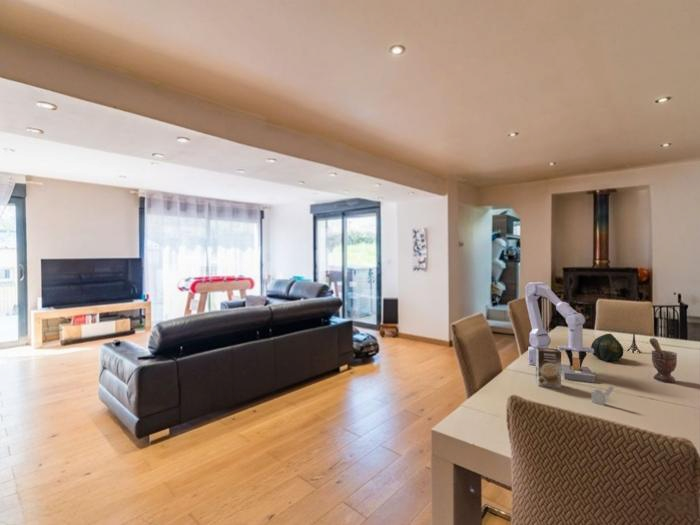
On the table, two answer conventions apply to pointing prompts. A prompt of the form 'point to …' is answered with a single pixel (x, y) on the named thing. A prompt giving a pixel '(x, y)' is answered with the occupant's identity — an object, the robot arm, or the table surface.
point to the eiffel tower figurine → (634, 345)
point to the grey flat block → (577, 373)
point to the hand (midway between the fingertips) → (575, 366)
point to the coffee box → (548, 367)
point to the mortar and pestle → (663, 362)
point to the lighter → (600, 395)
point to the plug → (575, 363)
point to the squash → (607, 348)
